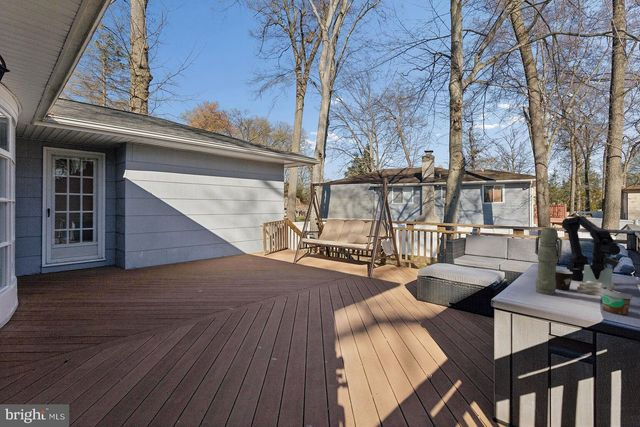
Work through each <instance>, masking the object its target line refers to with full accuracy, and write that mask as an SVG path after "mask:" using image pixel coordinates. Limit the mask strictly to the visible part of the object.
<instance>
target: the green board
mask: <svg viewBox="0 0 640 427" xmlns="http://www.w3.org/2000/svg"><path fill="white" fill-rule="evenodd" d="M613 268H614V267H607V266H606V267H605V270H603V271H601V273H600V276H599V279H598V280H597V279H595V276H594V274H593V272H592V269H591V268H590V264H588V265H584V271H583V273H584V278H583V280H582V284H586V282H587V281H592V282H598V283H603V285H602V287H605V286H607V288H611V283H613V282H612V281H613V270H614V269H613Z"/></svg>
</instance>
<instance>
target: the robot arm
mask: <svg viewBox="0 0 640 427" xmlns="http://www.w3.org/2000/svg"><path fill="white" fill-rule="evenodd" d="M561 223H562V227H563V229H564V230H565V231H566V233H567V235H568V240H569V245H570V251H571V256H570V258H569V262H568V263H567V264H566V266H565V267H566V270H567V271H570V272H573V275H572V279H571V281H576V282H583V278H584V265H590V268H591V269H592V272H593V274H594V276H595V279H597V280H598V279H599V276H600V273H601V271H603V270H605V267H607V265H610V266H611V267H612V268H617V267H618V265H619V263H620V261H619V260H618V258H617V257H615V256H618V255H619V254H620V252H621V247H620V246H619V245H618V244H617V242H615V241H614V239H613V237H612V234H611V232H610V231H609V230H608V229H605V228H603V227H599V226H597V225H596V224H594V223H593V222H592V221H591V220H589V219H587V217H586V216H584V215H576V216H574V217H573V216H572V217H569V218H564V219H563V220H562V222H561ZM580 227H582V228H584V229H585V230H586V231H587V232H589V236H590V237H591V238H592V240H591V241H590V243H592V244H593V246H592V247H593V248H592V254H591V255H592V258H591V262H589V260H588V257H587V256H586V255H584V254H583V251H582V248H581V242H580V236H579V230H580ZM608 255H610V256H612V257H610V256H608ZM589 263H590V264H589Z"/></svg>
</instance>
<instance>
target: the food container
mask: <svg viewBox="0 0 640 427" xmlns="http://www.w3.org/2000/svg"><path fill="white" fill-rule="evenodd" d="M607 288H608V287H605V286H602V289H601V291H600V292H601V293H602V296H601V297H602V310H603V311H605V312H607V313H610V314H612V315H618V316H628V314H629V310H630V304H631V300H633V295H632V294H631V293H623V292H621V291H618V290H614V289H613V290H610V289H607Z"/></svg>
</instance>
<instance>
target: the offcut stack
mask: <svg viewBox="0 0 640 427" xmlns="http://www.w3.org/2000/svg"><path fill="white" fill-rule="evenodd" d="M584 284H585V285H586V287H585V288H588V289H594V290H600V291H601V289H602V287H603V286H602V285H603V283H598V282H592V281H587V282H586V283H584Z"/></svg>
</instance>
